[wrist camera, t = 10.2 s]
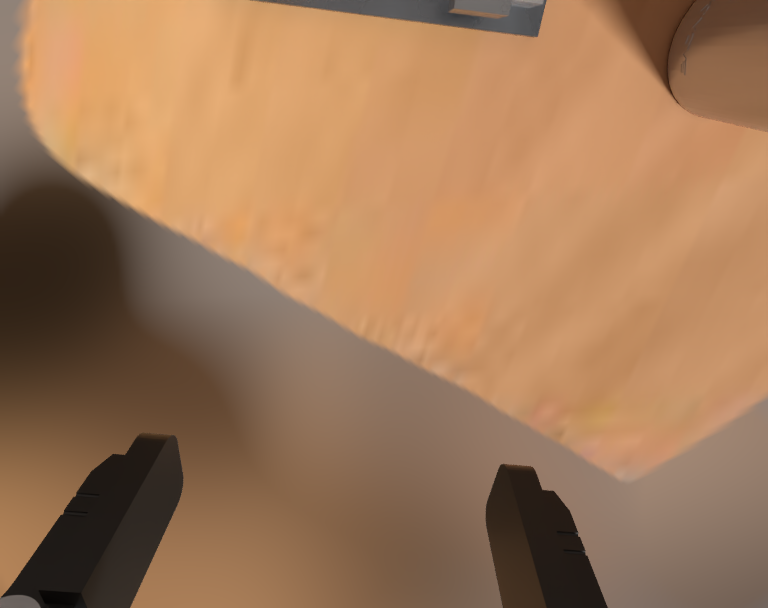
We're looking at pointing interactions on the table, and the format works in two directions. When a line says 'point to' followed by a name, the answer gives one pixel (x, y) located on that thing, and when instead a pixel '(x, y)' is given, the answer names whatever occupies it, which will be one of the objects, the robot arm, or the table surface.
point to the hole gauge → (443, 12)
